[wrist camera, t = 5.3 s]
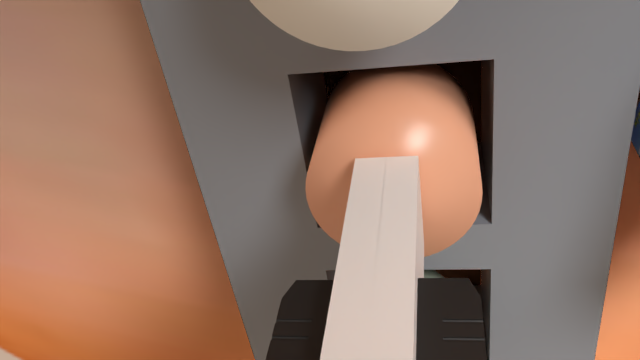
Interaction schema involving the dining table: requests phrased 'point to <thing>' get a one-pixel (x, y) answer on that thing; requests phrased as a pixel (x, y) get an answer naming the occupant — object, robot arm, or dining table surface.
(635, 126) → the medicine box
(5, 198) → the dining table surface
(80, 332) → the dining table surface
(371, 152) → the peach egg
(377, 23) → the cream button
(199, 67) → the grey slotted tray
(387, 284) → the robot arm
